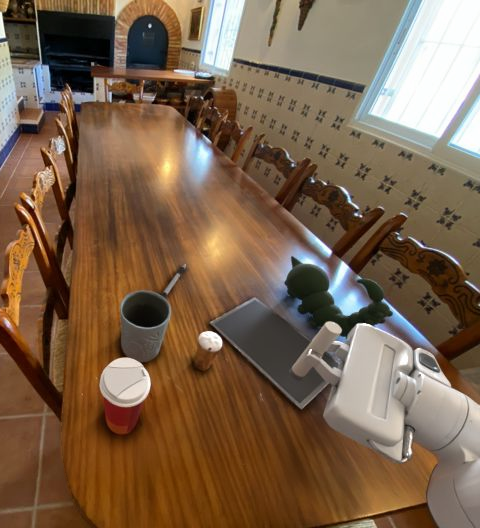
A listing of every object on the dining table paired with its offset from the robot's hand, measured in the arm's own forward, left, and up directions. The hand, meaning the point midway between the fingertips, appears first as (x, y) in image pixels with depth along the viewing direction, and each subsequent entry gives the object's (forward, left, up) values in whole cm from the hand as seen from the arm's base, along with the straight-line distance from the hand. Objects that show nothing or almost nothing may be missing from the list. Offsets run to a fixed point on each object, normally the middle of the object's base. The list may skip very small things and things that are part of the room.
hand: (309, 347), depth 47 cm
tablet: (+7, -11, -17) cm, 22 cm away
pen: (+35, -5, -17) cm, 40 cm away
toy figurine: (+8, -28, -17) cm, 34 cm away
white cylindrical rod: (-1, 0, -7) cm, 7 cm away
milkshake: (+12, +7, -17) cm, 22 cm away
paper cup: (+12, +27, -17) cm, 34 cm away
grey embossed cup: (+23, +15, -17) cm, 33 cm away
